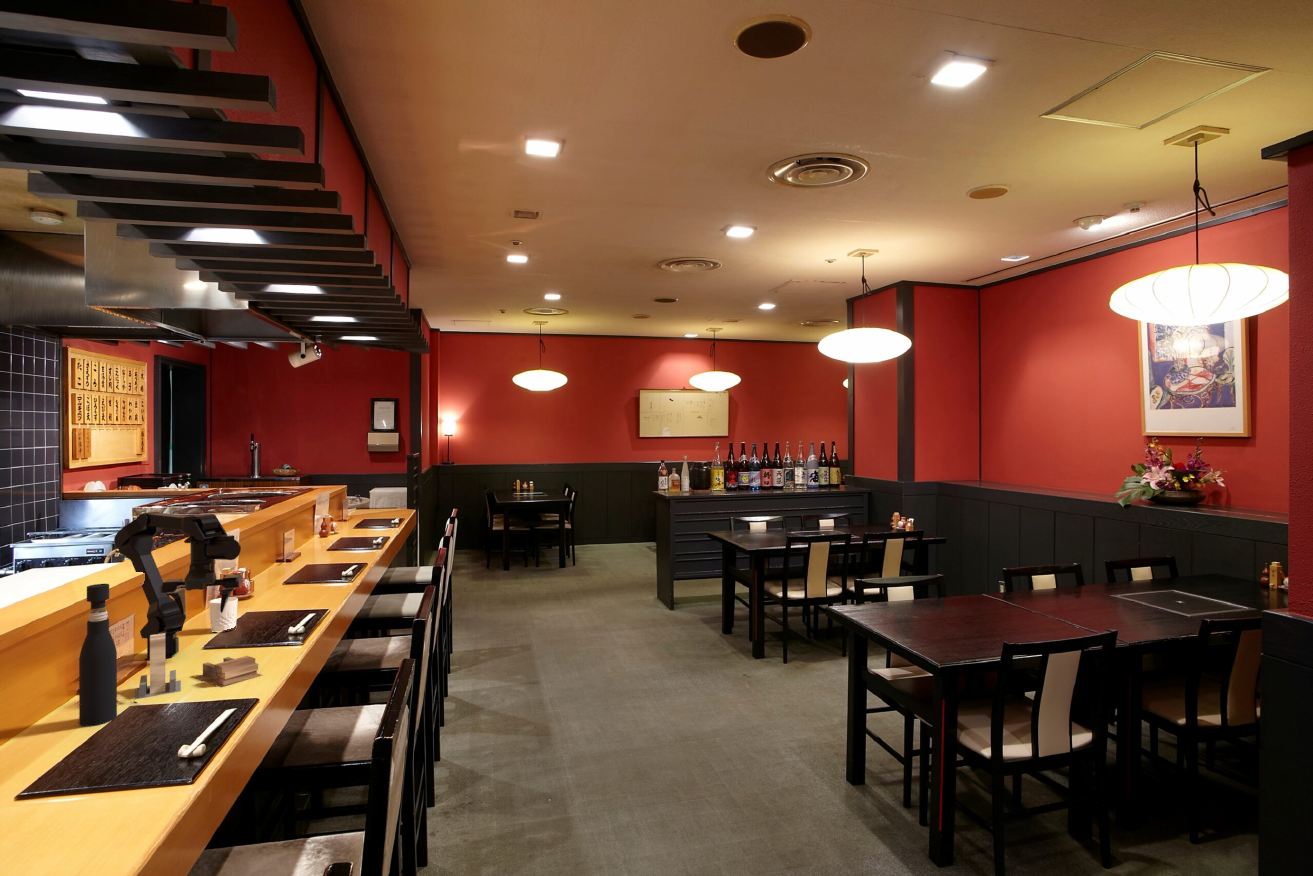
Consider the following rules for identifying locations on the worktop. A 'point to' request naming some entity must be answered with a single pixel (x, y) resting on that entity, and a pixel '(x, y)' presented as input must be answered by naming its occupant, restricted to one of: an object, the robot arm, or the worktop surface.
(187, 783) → the worktop surface
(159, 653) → the birch board
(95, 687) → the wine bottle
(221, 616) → the white cup
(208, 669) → the walnut rack
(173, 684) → the grey holder
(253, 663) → the offcut stack
